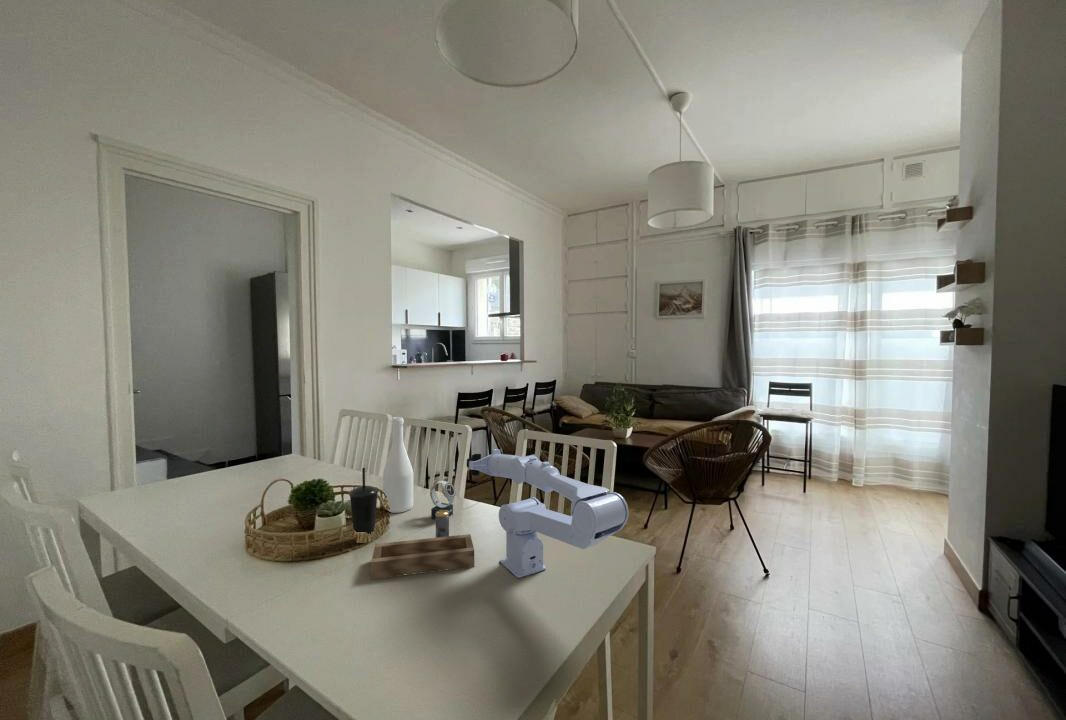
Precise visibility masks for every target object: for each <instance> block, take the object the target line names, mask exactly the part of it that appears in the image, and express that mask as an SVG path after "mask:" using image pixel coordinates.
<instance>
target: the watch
mask: <svg viewBox="0 0 1066 720" xmlns="http://www.w3.org/2000/svg"><path fill="white" fill-rule="evenodd" d="M437 485H440V486H441V487H440V488H441V491H442V495H443V496H444V497H445V498H446V499H447V501H448V503H444V502H440V499H439V497H438V496H437V495H438V494H437V492H436V486H437ZM429 492H430V493H429V496H430V499H431V501H432V503H433V505H434V507H432V508H431V509H430V511H431V512H430V515H431V516H430V517H431V520H435V521H436V512H437V511H439V510H448V511H449V518H450V517H451V516H453V515H454V504H453V503H454V502H455V501H454V500H455V498H456V497H455V496H456V489H455V486H454V485H453V484H452V483H451V482H448V481H447V480H439V481H437V482H435V483H434V484H432V485H431V487H430V490H429Z"/></svg>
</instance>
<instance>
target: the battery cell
mask: <svg viewBox="0 0 1066 720" xmlns="http://www.w3.org/2000/svg"><path fill="white" fill-rule="evenodd" d="M447 536H450V517H449V511H448V510H439V511H437V512H436V520H435V538H438V537H447Z"/></svg>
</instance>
